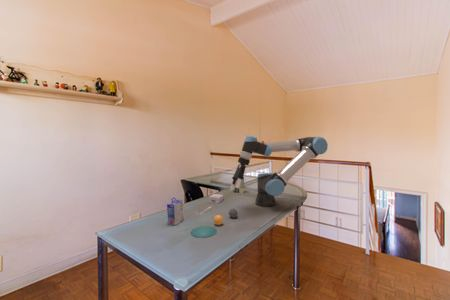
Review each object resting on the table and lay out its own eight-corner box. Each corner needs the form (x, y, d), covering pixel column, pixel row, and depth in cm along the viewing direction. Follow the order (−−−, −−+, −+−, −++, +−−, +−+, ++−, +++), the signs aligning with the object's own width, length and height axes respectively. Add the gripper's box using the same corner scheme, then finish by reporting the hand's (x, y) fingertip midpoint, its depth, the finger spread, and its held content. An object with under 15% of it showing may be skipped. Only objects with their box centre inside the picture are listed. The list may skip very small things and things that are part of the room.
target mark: (216, 225, 125) (216, 225, 125) (217, 236, 112) (217, 236, 111) (191, 227, 124) (191, 226, 124) (189, 238, 110) (189, 238, 110)
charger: (226, 198, 181) (218, 203, 168) (216, 197, 185) (208, 202, 171) (226, 192, 181) (218, 197, 167) (216, 191, 185) (208, 196, 171)
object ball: (222, 222, 130) (222, 213, 130) (223, 226, 125) (223, 216, 124) (213, 223, 130) (213, 213, 129) (213, 226, 124) (213, 217, 124)
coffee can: (233, 194, 193) (233, 178, 192) (232, 191, 203) (232, 176, 202) (245, 194, 194) (245, 178, 193) (243, 191, 204) (243, 176, 203)
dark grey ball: (236, 215, 141) (236, 207, 140) (238, 218, 135) (238, 210, 135) (228, 216, 140) (228, 207, 140) (229, 219, 135) (229, 210, 134)
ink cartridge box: (176, 218, 138) (175, 195, 137) (184, 219, 136) (183, 196, 135) (167, 224, 129) (166, 200, 128) (175, 225, 127) (174, 200, 126)
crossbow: (208, 218, 141) (207, 215, 141) (191, 215, 146) (191, 212, 146) (219, 209, 156) (218, 206, 155) (203, 206, 161) (203, 204, 161)
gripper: (243, 157, 159) (234, 185, 159) (235, 155, 136) (224, 187, 136) (253, 161, 157) (243, 189, 157) (246, 159, 133) (235, 192, 133)
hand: (234, 188), depth 146 cm, fingers open, 13 cm apart
